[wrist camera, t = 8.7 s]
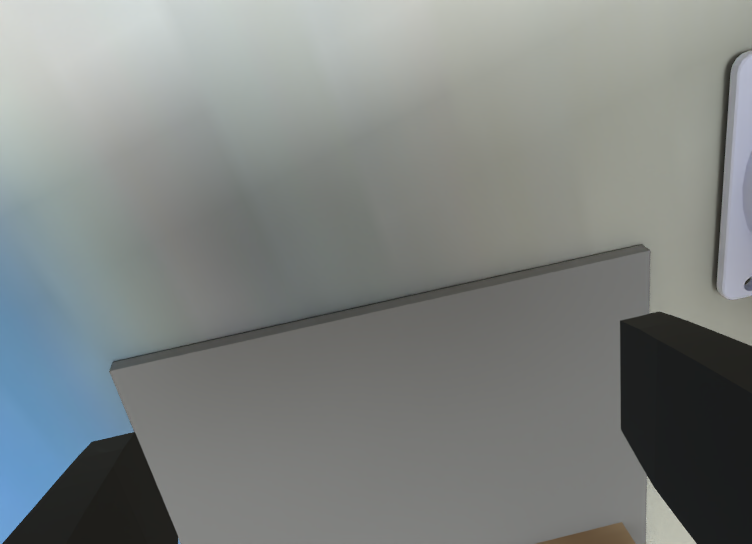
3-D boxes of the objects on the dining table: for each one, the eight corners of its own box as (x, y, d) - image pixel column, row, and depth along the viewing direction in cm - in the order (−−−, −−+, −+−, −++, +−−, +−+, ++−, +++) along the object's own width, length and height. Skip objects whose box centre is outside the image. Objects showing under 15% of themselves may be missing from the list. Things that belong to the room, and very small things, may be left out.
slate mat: (642, 244, 21) (650, 250, 21) (638, 629, 29) (644, 640, 29) (112, 362, 20) (109, 371, 20) (262, 728, 28) (262, 740, 28)
